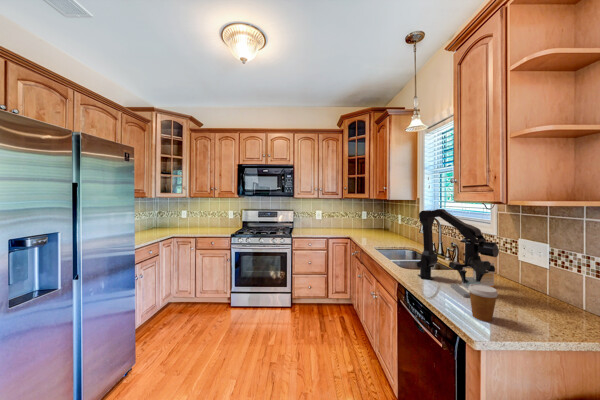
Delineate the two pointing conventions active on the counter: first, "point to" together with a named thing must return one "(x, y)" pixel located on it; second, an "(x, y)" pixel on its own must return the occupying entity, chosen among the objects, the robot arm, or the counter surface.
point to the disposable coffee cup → (482, 301)
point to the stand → (461, 290)
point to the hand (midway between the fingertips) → (470, 283)
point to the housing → (470, 282)
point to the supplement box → (486, 277)
